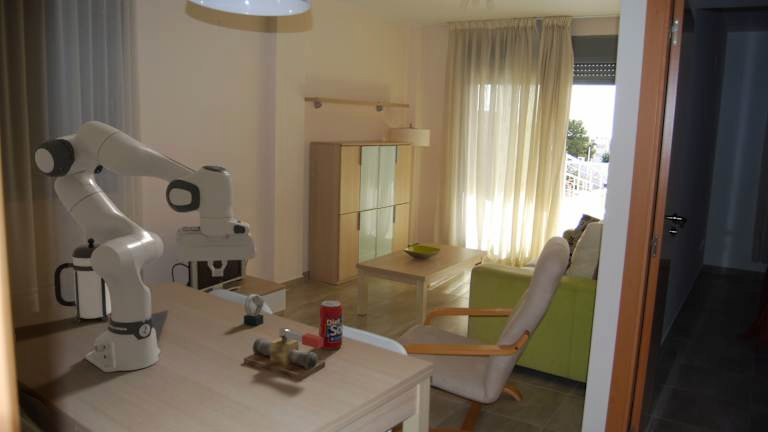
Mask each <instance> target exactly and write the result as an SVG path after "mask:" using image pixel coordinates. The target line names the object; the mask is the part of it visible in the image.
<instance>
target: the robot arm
mask: <svg viewBox="0 0 768 432" xmlns="http://www.w3.org/2000/svg"><path fill="white" fill-rule="evenodd" d="M33 162H34V165H35V166H36V168H37V170H38V171H39V172H40V173H41V174H42V175H44V176H45V177H49V178H56V179H55V181H54V185H53V187H54V191H55V193H56V195H57V196H58V198H59V200H60V202H61V204H62V205H63V207H64V208H65V210H66V211H67V212H68V213H69V214H70V215H71V217H72V218H73V219H74V220H75V222H76V223H77V224H78V225H79V227H80V228H81V229H82V230H83V232H84V233H85V234H86V235H87V236H90V238H91V237H92V238H93V239H94V238H95V239H97V240H99V241H101V242H104V243H101V244H102V245H100V246H99V247H97V248H96V249H95V250H94V251H93V253H92V255H91V265H92V268H93V270H94V271H95V273H96V274H97V275H99V276H100V277H102V278H103V279H104V281H105V283H106V285H107V287H108V290H109V294H110V302H111V313H110V314H111V315H110V317H108V318H107V319H109V320H108V321H106V323H108V326H107V329H106V330H105V331H103V333H101V334H100V335H98V336H97V337H96V338H95V340H94V344H93V350H92V351H90V352H88V353H87V354H86V355H85V360H87V361H88V362H90V363H92V365H94V366H95V367H96V368H99V369H100V370H101V371H102V372H104V373H113V372H117V371H118V372H120V371H121V372H122V371H126V372H127V371H135V370H136V371H137V370H141V369H144V368H148V367H150V366H152V365H154V364H156V363H157V362H158V361H159V359H160V357H159V355H160V354H161V348H159V346H158V341H157V332H156V329H155V328H154V321H155V320H154V314H153V313H152V293H151V290H150V288H149V287H148V286H147V285H145V284H144V282H143V280H142V277H141V270H143V269H146V268H147V267H150V266H151V265H154V263H155V262H157V261H158V260H159V259H160V258H161V257H162V255H163V254H164V253H163V252H164V243H163V240H162V238H161V237H160V236H159V235H158V234H156V233H155V232H152V231H148V230H146V229H145V228H143V227H141V226H140V225H138V224H137V223H135V222H134V221H133V220H132V219H130V218H128V216H126V215H125V214H124V213H123V212H122V211H121V210H120V209H119V208H118V207H117V206H116V204H115V203H114V202H113V201H112V200H111V199H110V198H109V196H108V195H107V194H106V192H104V191H103V189H102V188H101V187H100V186H99V185H98V184H97V182H96V180H95V177H94V174H95V175H97V174H101V172H103V169H107V170H108V171H110V172H112V173H115V174H118V175H121V176H125V177H151V178H156V179H159V180H160V179H161V180H164V181H165V182H168V185H167V186H166V190H165V199H166V202H167V204H168V206H169V207H170V208H171V209H172V211H174V212H176V213H182V214H188V213H192V212H198V213H199V226H190V227H189V226H182V227H181V228H179V229H177V231H176V242H177V243H178V250H177V259H178V260H179V261H180V262H207V266H208V267H209V269H210V271H211V276H212V277H224V270H225V269H226V266H227V265H228V261H243V260H244V261H245V260H246V261H248V260H253V259H255V257H256V249H255V247H256V246H255V242H254V238H253V237H254V236H253V235H252V233H251V225H250V224H249V223H248V222H246V221H241V220H239V219H236V218H234V217H235V216H234V211H233V203H234V184H233V178H232V174H231V172H230V170H228V169H227V168H225V167H222V166H218V165H204V166H202V167H200V169H198V170H197V171H196V170H194V169H192V168H190V167H188V166H186V165H185V164H183V163H180V162H178V161H177V160H174V159H172V158H171V157H169V156H166V155H164V154H162V153H160V152H158V151H157V150H154V149H153V148H151V147H149V146H147V145H145V144H144V143H142V142H141V141H139V140H136V139H135V138H133V136H130V135H128V134H126V133H125V132H124V131H122V130H119V129H118V128H115V127H114V126H111V125H109V124H107V123H104V122H101V121H97V120H91V121H89V120H88V121H86V122H84V123H83V124H82V125H80V127H79V128H78V129H77V131H76V133H72V134H67V135H65V136H60V137H57V138H50V139H47V140H44V141H43V142H40V143H39V144H37V145H36V146H35V149H34V151H33ZM215 261H221V264H222V265H221V268H215V267H214V262H215Z"/></svg>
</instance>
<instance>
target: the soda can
mask: <svg viewBox="0 0 768 432" xmlns="http://www.w3.org/2000/svg"><path fill="white" fill-rule="evenodd" d="M320 304H321V305H320V306H319V308H318V336H320V337H323V338H324V342H323V346H322V347H321V348H323V349H324V350H336V349H338V348H340V347H341V346H342V345H343V330H344V328H343V327H344V326H343V323H344V322H343V321H344V317H343V316H344V307H343V306H342V302H340V301H339V300H325V301H322V302H321V303H320Z"/></svg>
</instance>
